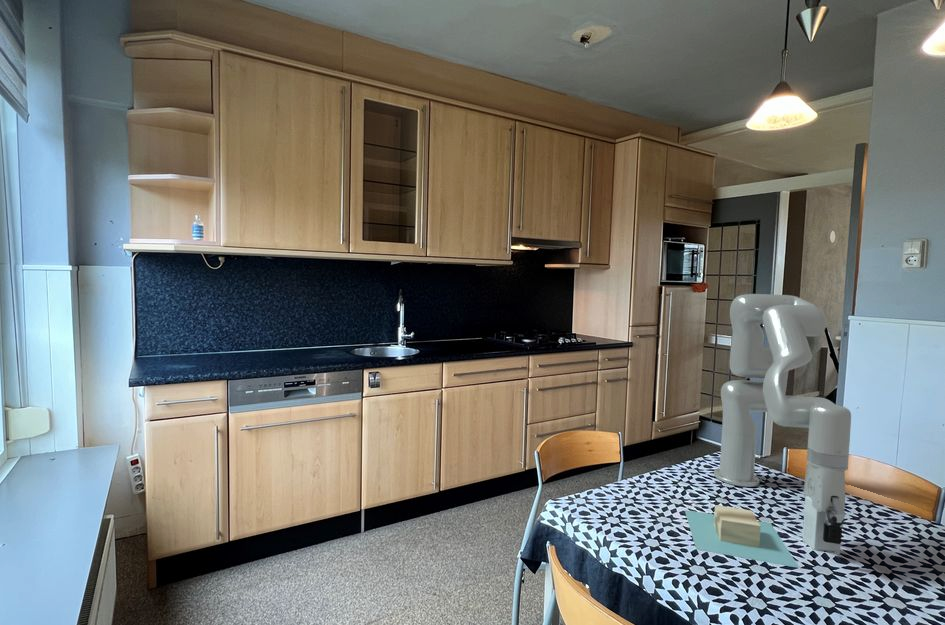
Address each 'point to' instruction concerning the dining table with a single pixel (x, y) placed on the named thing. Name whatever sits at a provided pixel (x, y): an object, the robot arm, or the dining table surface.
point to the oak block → (737, 526)
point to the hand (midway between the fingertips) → (822, 531)
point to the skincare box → (816, 529)
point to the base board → (766, 552)
